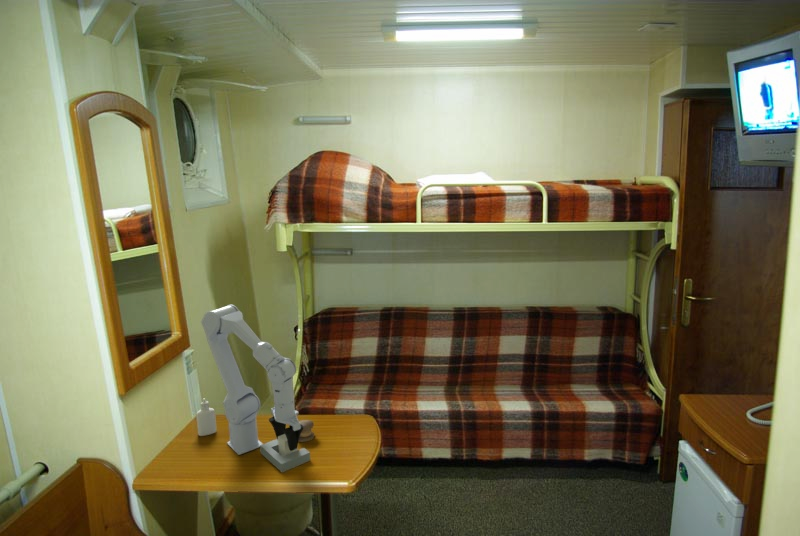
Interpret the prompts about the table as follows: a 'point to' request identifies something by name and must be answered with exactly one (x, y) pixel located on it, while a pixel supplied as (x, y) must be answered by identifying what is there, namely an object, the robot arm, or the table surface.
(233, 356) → the robot arm
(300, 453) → the notched board
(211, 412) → the eye dropper bottle
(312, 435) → the brown knob
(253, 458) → the table surface
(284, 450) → the block
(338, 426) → the table surface
